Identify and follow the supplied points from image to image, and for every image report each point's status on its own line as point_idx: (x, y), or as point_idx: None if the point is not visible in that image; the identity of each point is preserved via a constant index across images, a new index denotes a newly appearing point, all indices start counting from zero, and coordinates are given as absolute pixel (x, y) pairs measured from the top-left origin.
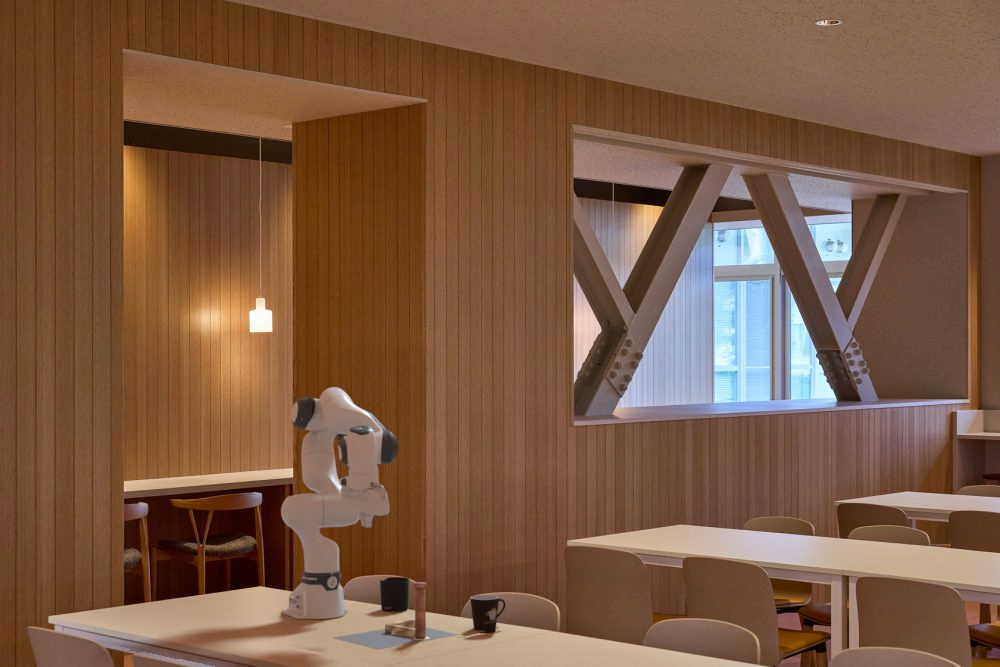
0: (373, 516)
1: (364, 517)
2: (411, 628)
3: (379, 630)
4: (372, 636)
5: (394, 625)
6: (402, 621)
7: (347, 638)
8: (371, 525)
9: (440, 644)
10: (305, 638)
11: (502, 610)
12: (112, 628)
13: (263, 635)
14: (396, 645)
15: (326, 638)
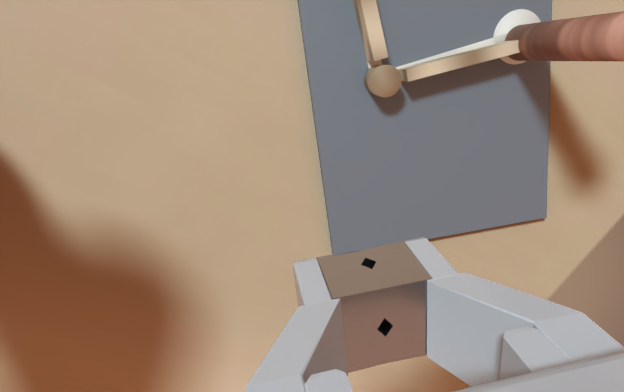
0: (561, 307)
1: (327, 365)
2: (495, 54)
3: (321, 87)
4: (391, 152)
5: (414, 76)
6: (368, 11)
7: (370, 225)
8: (428, 246)
9: (586, 12)
10: (258, 301)
11: None
12: None
13: (150, 378)
14: (544, 154)
15: (293, 254)
